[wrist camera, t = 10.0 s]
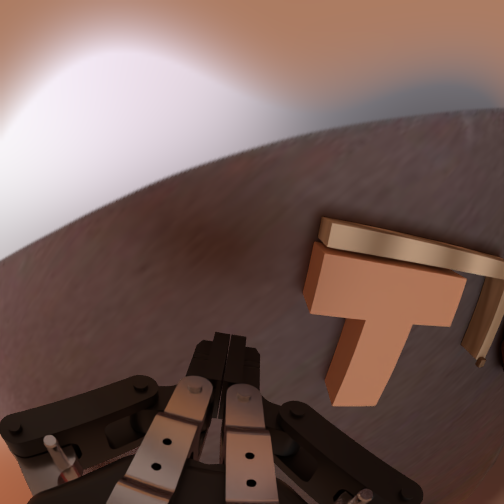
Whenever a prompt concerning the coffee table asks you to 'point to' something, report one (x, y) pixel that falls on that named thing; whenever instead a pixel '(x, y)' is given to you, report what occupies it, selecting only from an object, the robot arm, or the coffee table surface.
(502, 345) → the decorative turtle
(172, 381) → the coffee table surface
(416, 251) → the maple L-fence
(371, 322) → the T-block
